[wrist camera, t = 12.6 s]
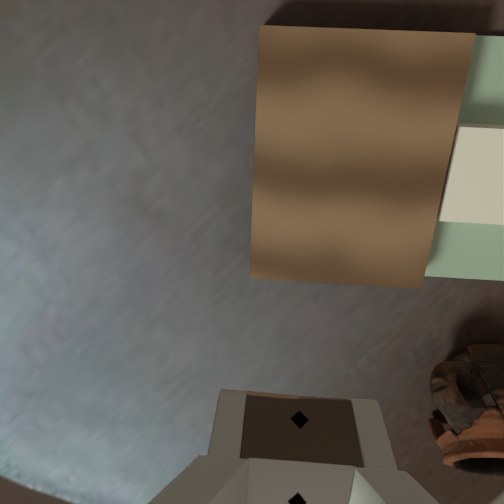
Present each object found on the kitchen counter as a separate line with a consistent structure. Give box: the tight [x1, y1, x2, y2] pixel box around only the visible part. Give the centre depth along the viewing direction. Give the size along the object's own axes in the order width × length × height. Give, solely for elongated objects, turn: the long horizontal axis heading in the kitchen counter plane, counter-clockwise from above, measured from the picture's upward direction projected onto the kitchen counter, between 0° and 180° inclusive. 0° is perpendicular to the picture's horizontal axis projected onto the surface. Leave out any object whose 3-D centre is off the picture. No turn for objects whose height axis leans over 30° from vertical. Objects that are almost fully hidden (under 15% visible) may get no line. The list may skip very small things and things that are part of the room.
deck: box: [249, 25, 476, 289], centre depth 30 cm, size 16×12×2 cm
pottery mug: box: [428, 343, 504, 477], centre depth 35 cm, size 12×10×8 cm
